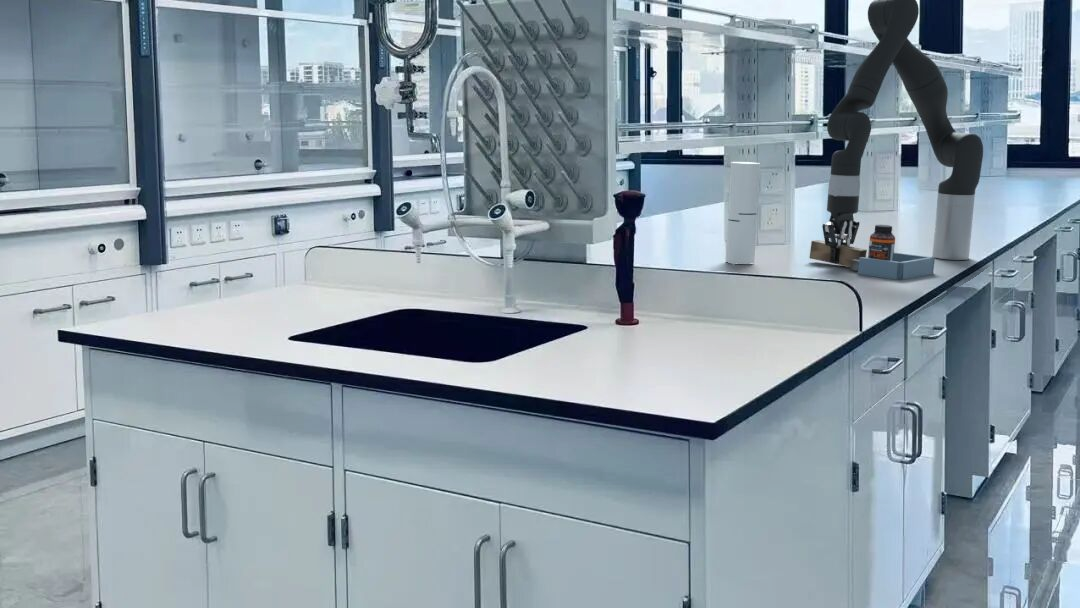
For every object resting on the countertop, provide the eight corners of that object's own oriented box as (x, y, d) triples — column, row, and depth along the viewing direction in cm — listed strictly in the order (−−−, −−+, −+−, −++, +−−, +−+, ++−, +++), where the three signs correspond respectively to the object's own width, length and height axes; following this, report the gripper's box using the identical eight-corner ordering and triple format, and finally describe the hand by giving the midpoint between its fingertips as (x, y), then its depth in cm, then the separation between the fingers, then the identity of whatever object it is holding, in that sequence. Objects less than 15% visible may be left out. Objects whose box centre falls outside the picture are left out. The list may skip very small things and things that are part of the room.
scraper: (801, 259, 283) (803, 241, 282) (823, 256, 289) (825, 239, 288) (857, 271, 271) (859, 253, 270) (879, 267, 278) (881, 250, 277)
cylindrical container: (753, 265, 277) (760, 164, 273) (724, 264, 279) (730, 163, 274) (754, 261, 284) (760, 162, 280) (725, 260, 286) (731, 161, 281)
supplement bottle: (865, 272, 271) (869, 225, 269) (868, 269, 276) (871, 223, 274) (891, 274, 269) (895, 227, 267) (893, 271, 274) (897, 225, 272)
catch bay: (858, 273, 268) (859, 257, 267) (891, 268, 279) (893, 252, 278) (900, 280, 260) (901, 263, 259) (933, 273, 271) (934, 257, 270)
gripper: (845, 191, 285) (840, 258, 288) (814, 193, 275) (809, 262, 279) (872, 193, 280) (866, 262, 283) (841, 195, 270) (835, 266, 273)
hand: (838, 261), depth 281 cm, fingers closed on scraper, 3 cm apart
